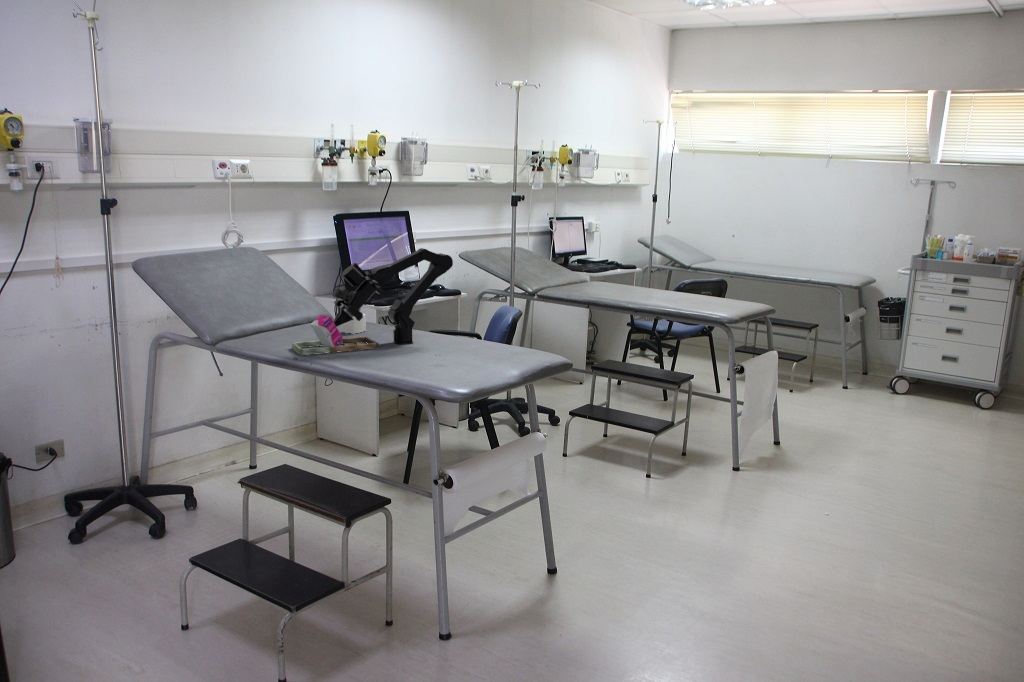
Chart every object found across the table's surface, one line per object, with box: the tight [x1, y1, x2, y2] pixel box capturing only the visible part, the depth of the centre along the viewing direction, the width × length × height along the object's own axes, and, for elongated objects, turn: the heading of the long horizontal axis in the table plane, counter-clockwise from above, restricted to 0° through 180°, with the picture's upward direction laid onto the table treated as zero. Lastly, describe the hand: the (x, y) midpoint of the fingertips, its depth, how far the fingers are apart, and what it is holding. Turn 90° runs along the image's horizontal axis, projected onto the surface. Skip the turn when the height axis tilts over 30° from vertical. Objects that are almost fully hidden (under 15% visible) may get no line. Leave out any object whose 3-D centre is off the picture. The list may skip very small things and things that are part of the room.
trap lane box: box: [291, 336, 380, 357], centre depth 294 cm, size 28×14×2 cm, turn 117°
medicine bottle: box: [340, 308, 367, 335], centre depth 324 cm, size 7×7×12 cm
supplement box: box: [310, 314, 344, 348], centre depth 290 cm, size 6×6×12 cm
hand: (332, 326), depth 292 cm, fingers closed
